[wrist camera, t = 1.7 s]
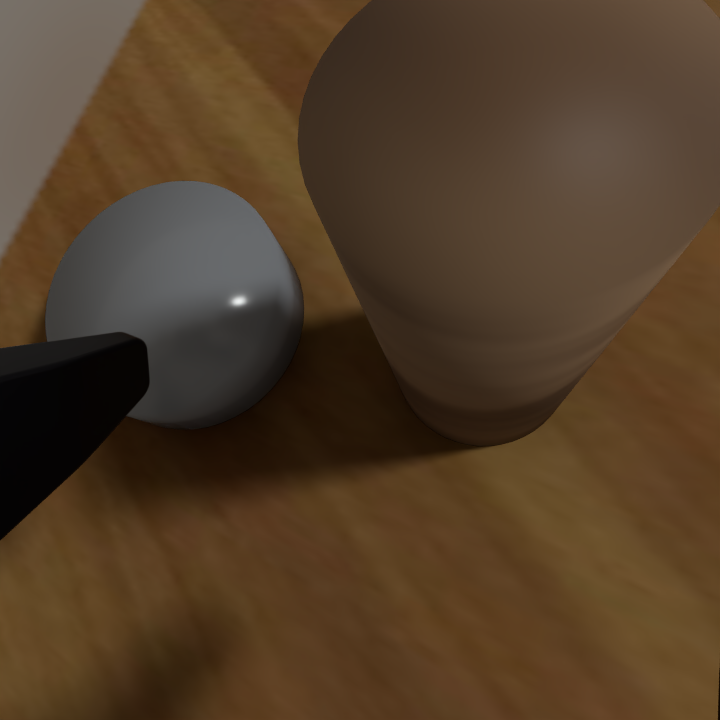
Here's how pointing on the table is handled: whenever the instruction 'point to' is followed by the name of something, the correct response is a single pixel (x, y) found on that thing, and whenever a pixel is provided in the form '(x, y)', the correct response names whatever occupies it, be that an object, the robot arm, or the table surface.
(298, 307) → the slate pedestal
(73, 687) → the table surface
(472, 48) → the walnut cylinder
